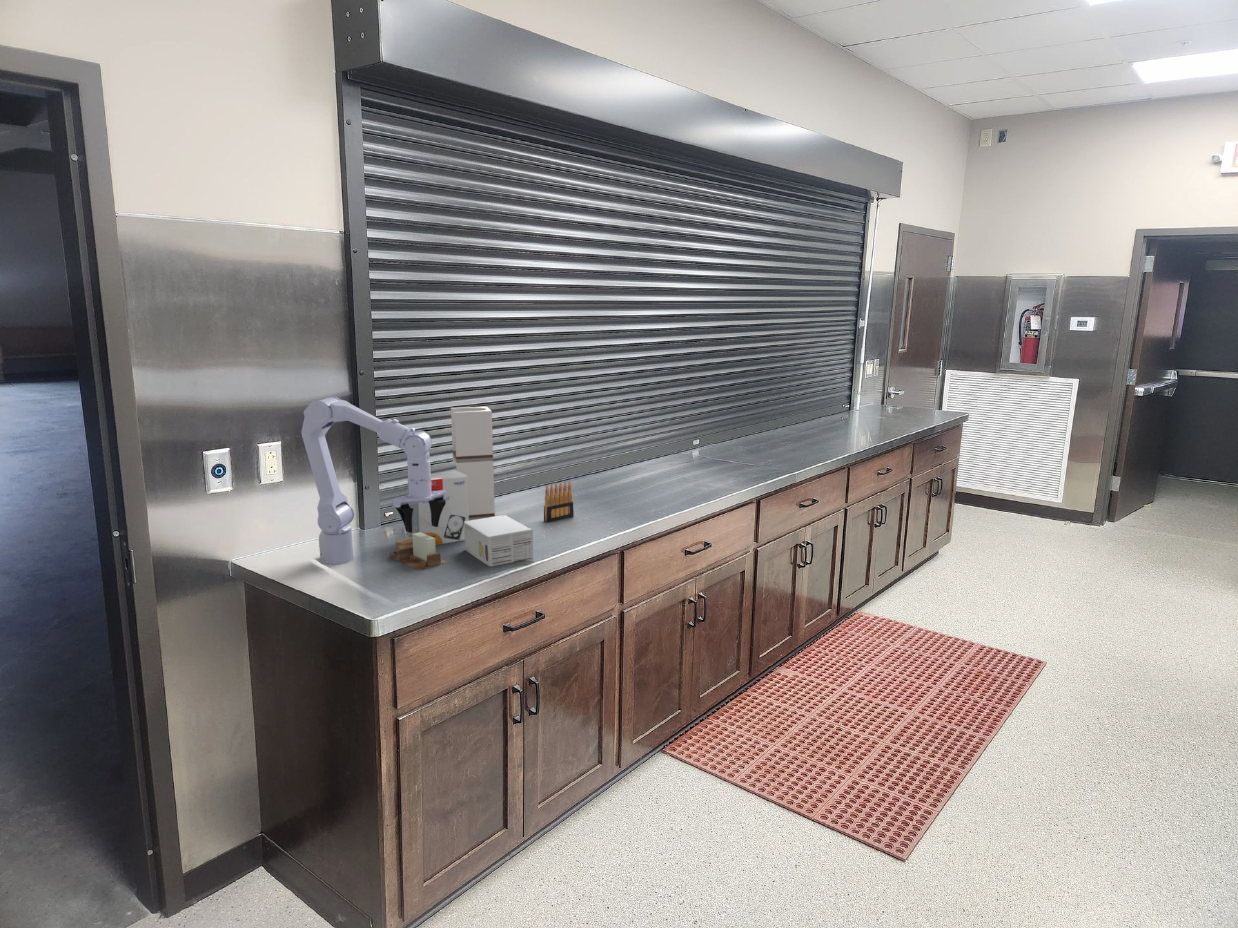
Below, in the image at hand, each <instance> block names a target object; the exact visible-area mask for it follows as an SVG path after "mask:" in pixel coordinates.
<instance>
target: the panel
mask: <svg viewBox="0 0 1238 928" xmlns="http://www.w3.org/2000/svg"><path fill="white" fill-rule="evenodd" d="M412 539H413V556H416V557H418V558H420V559H422V560H424V561H426V562H427V556H428V555H432V554H436V553H437V551H436V549H437V548H436V545H435V538H433V537H431V536H428V535H426V534H424V533H421V532H418V533H414V534H412Z"/></svg>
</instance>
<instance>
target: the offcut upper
mask: <svg viewBox="0 0 1238 928" xmlns="http://www.w3.org/2000/svg"><path fill="white" fill-rule="evenodd" d="M408 547H413V539H412V537H410V536H409V537H407V538H404V539H399V540H395V550H396V549H398V550H400V549H404V548H408Z"/></svg>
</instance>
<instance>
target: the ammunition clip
mask: <svg viewBox="0 0 1238 928" xmlns="http://www.w3.org/2000/svg"><path fill="white" fill-rule="evenodd" d="M572 491H573V490H572V483H571V481H570V480H568V483H567V482H566V481H564V483H563V485H562V482H559V484H557V482H556V483H555V484H554V486H553V483H551V484H550V488H549V485H548V484H546V486H545V491H544V492H545V495H544V505H543V522H545V523H552V522H557V521H561V520H566V519H570V518H574V517H575V515H574V514H575V512H574V502H573V492H572Z"/></svg>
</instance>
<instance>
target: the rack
mask: <svg viewBox="0 0 1238 928" xmlns="http://www.w3.org/2000/svg"><path fill="white" fill-rule="evenodd" d="M397 551H398V555H397V554H396V551H395V550H394V551H391V552H389V558H391V559H393V560H395V561H396V562H400V563H401V564H404V565H406V566H407V567H410V568H412V569H414V570H416V571H421V570H425V569H430V568H433V567H436V566H440V565H445V564H449V562H448V561H446V560H443V559H441V553H440V552H436V554H432V555H428V556H427V562H426V561H424V560H422V559H420V558H418V557H416V556H413V547H408V548H404V549H400V550H397Z"/></svg>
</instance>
